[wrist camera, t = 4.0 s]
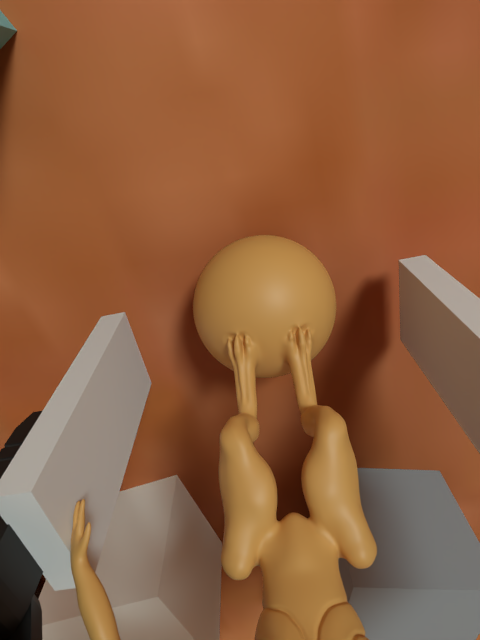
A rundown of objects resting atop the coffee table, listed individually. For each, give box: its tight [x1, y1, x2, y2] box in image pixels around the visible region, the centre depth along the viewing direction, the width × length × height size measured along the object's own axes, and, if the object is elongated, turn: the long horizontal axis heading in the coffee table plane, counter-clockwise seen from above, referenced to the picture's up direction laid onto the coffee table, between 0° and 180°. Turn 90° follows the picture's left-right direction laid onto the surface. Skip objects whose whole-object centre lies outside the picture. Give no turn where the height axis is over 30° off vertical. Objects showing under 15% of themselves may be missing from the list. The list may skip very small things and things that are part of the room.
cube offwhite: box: [39, 475, 222, 640], centre depth 17 cm, size 5×5×5 cm
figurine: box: [70, 235, 377, 640], centre depth 9 cm, size 8×6×12 cm
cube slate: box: [338, 468, 480, 640], centre depth 17 cm, size 5×5×5 cm
